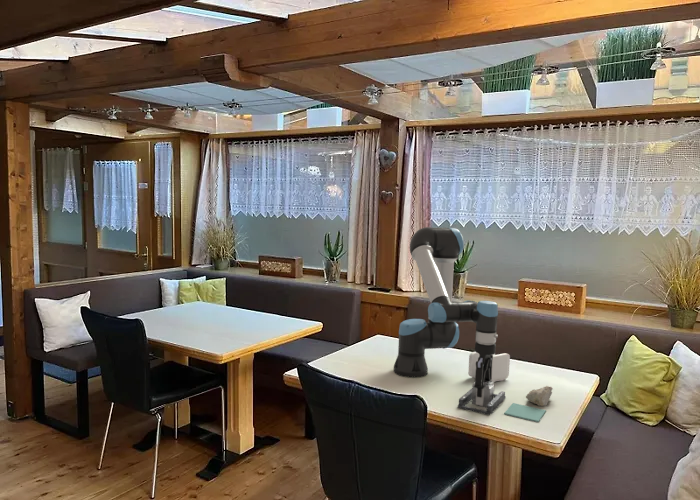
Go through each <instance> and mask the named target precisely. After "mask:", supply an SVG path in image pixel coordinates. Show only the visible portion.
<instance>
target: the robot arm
mask: <svg viewBox="0 0 700 500" xmlns="http://www.w3.org/2000/svg"><path fill="white" fill-rule="evenodd" d="M464 246H465V245H464V237H463V235H462V233H461V231H460V230H459V229H457V228H454V227H429V226H426V227H422V228H419V229H418V230H416V232H414V233H413V235H412V237H411V239H410V242H409V253H410V256H411V258H412V260H414V261H415V262H416V265H417V268H418V271H419V273H420V276H421V280H422V282H423V285H424V288H425V291H426V294H427V296H428V299H429V302H430V304H428V307H427V313H428V315H427V316H428V317H427V319H428V321H427V322H426V320H425V319H422V318H410V319H406V320H403V321H402V322H400V323H399V328H398V329H399V330H398V349H397V350H398V351H397V356H396V360H395V362H394V365H393V373H394V374H395V375H398V376H399V377H403V378H404V377H405V378H422V377H425V376H427V375H428V373H429V372H428V371H429V369H428V365H427V360H426V356H425V350H430V349H431V350H433V349H447V348H448V349H450V348H451V349H452V348H454V347H455V346H456V345H457V343H458V341H459V338H460V328H459V324H458V322H459V323H463V322H464V323H465V322H471V323H475V324H476V325H475V327H476V328H475V338H474V339H475V343H474V352H476V353H479V354H480V355H479V358H478V362H477V361H476V375H475V378H474V382H475V386H474V387H475V388H477V389H476V404H477V405H476V406H480V405H481V406H480V407H484V406H483V402H484V388H483V386H484V380H486V381H490V380H492V360H493V354H495V355H496V347H497V346H496V345H497V344H496V342H497V339H498V334H497V329H498V316H499V311H498V310H499V309H498V308H499V307H498V304H497V303H496V302H495V301H490V300H479V301H478V302H477V301H475V300H470V299H469V300H464V301H461V302H460V301H458V302H453V287H454V267H455V262H456V261H457V260H458V257H459V255H460V254H462V253H463V250H464ZM490 382H492V381H490Z"/></svg>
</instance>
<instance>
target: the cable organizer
mask: <svg viewBox="0 0 700 500" xmlns="http://www.w3.org/2000/svg"><path fill="white" fill-rule="evenodd" d="M479 355H480V354H479V353H476V352H475V351H472V352H471V353H470V354H469V357H468V376H469V377H470V378H474V379H475V375H476V361H477V362H478V358H479ZM510 360H511V355H510V354H509V353H505V352H504V353H500V354H499V353H498V354H496V353H495V354H493V360H492V380H490V381H492V382H494V383H496V382H498V381H499V382H502V381H505V380H506V379H507V378H509V376H510V364H511V363H510Z"/></svg>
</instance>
